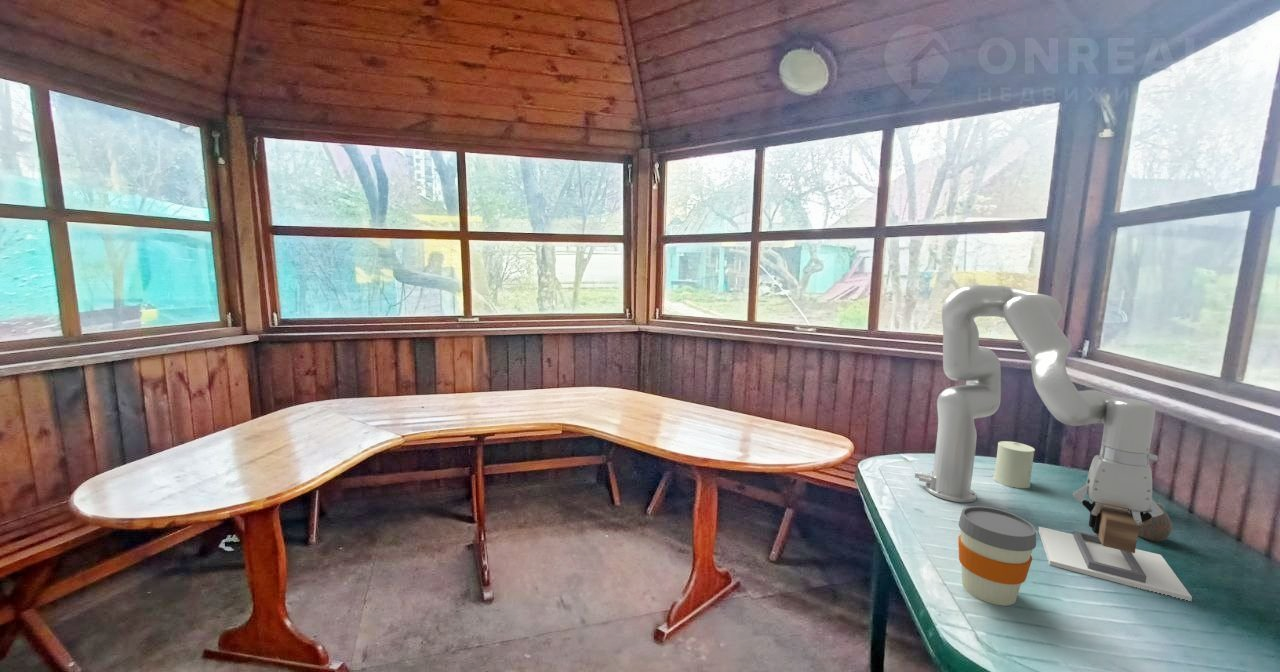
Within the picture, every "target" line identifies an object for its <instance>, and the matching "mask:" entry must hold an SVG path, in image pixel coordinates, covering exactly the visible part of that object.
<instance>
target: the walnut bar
mask: <svg viewBox="0 0 1280 672" xmlns="http://www.w3.org/2000/svg"><path fill="white" fill-rule="evenodd" d="M1099 513H1100V514H1099V516H1100V518H1101V519H1100V525H1099V532H1098V533H1095V535H1097V536H1098V538H1099V540H1100V541H1101V543H1102V545H1103V546H1105V547H1110V548H1114V549H1118V550H1123V551H1127V552H1132V553H1135V549H1137V548H1136V547H1137V542H1138V536H1139V535H1138V530H1139V525H1138V524H1137V523H1136V521H1135V520H1134V519H1133V517H1132V516H1131V515H1130V512H1129V510H1127V509H1124V508H1118V507H1113V506H1108V505H1104V506H1103V507H1102V509H1101V511H1100V512H1099Z"/></svg>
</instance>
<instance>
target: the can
mask: <svg viewBox="0 0 1280 672" xmlns="http://www.w3.org/2000/svg"><path fill="white" fill-rule="evenodd" d="M1035 451H1036V449H1035V448H1034V447H1033V446H1030V445H1029V444H1028V445H1027V444H1024V443H1022V442H1021V443H1020V442H1017V441H1009V440H1008V441H1007V440H1002V441H998V442H997V453H996V459H995V467H994V474H993V477H992V478H993V480H994V481H995V482H997V483H999V484H1000V483H1001V485H1004V486H1005V487H1010V488H1014V487H1015V489H1029V488H1030V487H1031V476H1032V469H1033V463H1034V456H1035Z"/></svg>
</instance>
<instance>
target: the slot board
mask: <svg viewBox="0 0 1280 672" xmlns="http://www.w3.org/2000/svg"><path fill="white" fill-rule="evenodd" d="M1038 534H1039V537H1040V540H1041V543H1042V546H1043V549H1044V552H1045V555H1046V558H1047V562H1048V564H1049V566H1051V567H1055V568H1060V569H1063V570H1064V569H1065V570H1067V571H1071V572H1075V573H1080V574H1083V575H1087V576H1091V577H1095V578H1099V579H1102V580H1105V581H1111V582H1114V583H1118V584H1121V585H1123V586H1124V585H1125V586H1129V587H1132V586H1133V587H1134V588H1136V587H1137V589H1140V588H1141V590H1143V591H1147V590H1149V591H1148V592H1151V591H1153V592H1152V593H1155V592H1157V593H1156V594H1159V593H1161V594H1160V595H1163V594H1165V595H1164V596H1167V595H1170V596H1172V597H1171V598H1174V597H1176V598H1175V599H1178V598H1180V599H1179V600H1182V599H1185V600H1184V601H1186V600H1188V601H1187V602H1189V601H1191V602H1192V599H1193V597H1192V595H1191V594H1190V593H1189V591H1188V590H1187V588H1186V587H1185V586H1184V584H1183V582H1182V581H1180V580H1181V579H1179V578H1178V576H1177V575H1176V573H1175V572H1174V570H1173V569H1172V568H1171V567H1170V565H1169V564H1168V563H1167V561H1166V559H1165V558H1164V557H1163V555H1162V554H1159V553H1155V552H1151V551H1146V550H1143V549H1138V548H1136V549H1135V553H1132V552H1127V551H1123V550H1118V549H1114V548H1110V547H1105V546H1103V545H1102V543H1101V541H1100V540H1099V538H1098V536H1097V534H1092V533H1089V532H1085V531H1084V532H1083V531H1079V530H1073V534H1072V533H1069V532H1064V531H1060V530H1056V529H1052V528H1046V527H1043V526H1038ZM1133 587H1132V588H1133ZM1145 589H1146V590H1145ZM1170 596H1169V597H1170Z"/></svg>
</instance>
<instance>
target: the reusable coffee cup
mask: <svg viewBox="0 0 1280 672" xmlns="http://www.w3.org/2000/svg"><path fill="white" fill-rule="evenodd" d="M958 527H959V529H960V530H959V531H960V534H959V535H958V537H957V538H958V560H959V563H960V564H961V585H962V587H963V588H964V590H966V592H967V593H969V594H970V595H971V596H973V597H975V598H976V599H977V600H981V601H983V602H986V603H988V604H989V603H990V604H992V605H997V606H1005V607H1006V606H1012V605H1013V604H1015V603H1016V601H1017V599H1018V596H1019V591H1020V589H1021V586H1022V584H1024V582H1025V581H1026V579H1027V576H1028V574H1029V571H1030V566H1031V564H1032V561H1033V557H1032V552H1033V550H1034V549H1035V548H1036V547H1037V529H1036V527H1035V525H1033V524H1032V523H1031V522H1029V521H1028V520H1026V519H1025V518H1023V517H1021V516H1018V515H1017V514H1015V513H1011V512H1009V511H1006V510H1002V509H999V508H995V507H988V506H980V505H979V506H978V505H975V506H974V505H972V506H966V507H964V508H963V509H962V510H961V513H960V516H959V521H958Z"/></svg>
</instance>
